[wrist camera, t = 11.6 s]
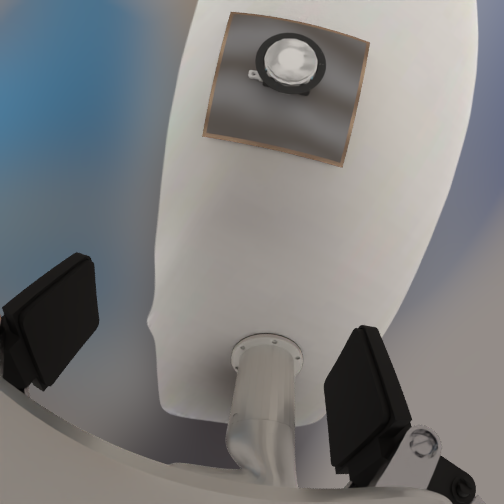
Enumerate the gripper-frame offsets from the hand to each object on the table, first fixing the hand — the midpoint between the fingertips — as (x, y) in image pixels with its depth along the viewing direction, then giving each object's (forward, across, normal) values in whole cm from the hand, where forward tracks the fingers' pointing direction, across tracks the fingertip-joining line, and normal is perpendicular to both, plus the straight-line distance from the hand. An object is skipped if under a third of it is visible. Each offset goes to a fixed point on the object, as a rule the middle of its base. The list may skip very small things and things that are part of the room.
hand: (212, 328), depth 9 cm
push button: (+23, +1, -13) cm, 27 cm away
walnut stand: (+27, 0, -13) cm, 30 cm away
